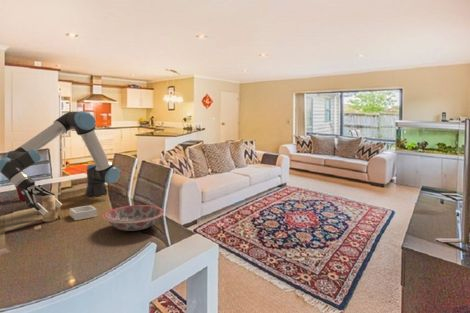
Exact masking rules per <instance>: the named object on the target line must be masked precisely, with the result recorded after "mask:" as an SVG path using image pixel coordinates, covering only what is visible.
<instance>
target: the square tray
mask: <svg viewBox="0 0 470 313" xmlns="http://www.w3.org/2000/svg"><path fill="white" fill-rule="evenodd" d="M69 216H70V217H71V219H73V220H74V221H79V220H84V219H90V218H94V217H95V218H96V217H98V208H96V207H94V206H93V205H90V204H89V205H84V206H76V207H71V208H69Z"/></svg>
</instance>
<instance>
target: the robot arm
mask: <svg viewBox="0 0 470 313" xmlns="http://www.w3.org/2000/svg"><path fill="white" fill-rule="evenodd" d="M71 130H75V132H76V134H77V136H80V137H81V139H82V141H83V142H84V144H85V147H86V148H87V151H88V152H89V154H90V156H91V159H92V160H93V162H94V163H93V164H87V166H86V180H87V182H86V189H85V192H84V196H85V195H86V196H85V197H88V196H97V197H102V195H104V196H106V195H105V194H107V193H108V189H107V186H106V184H115V183H116V182H118V180H119V178H120V176H121V175H120V174H121V172H120V169H119V168H118V167H115V166H114V164H113V161H110V160H109V159H108V156H107V154H106V153H105V151H104V149H103V146H102V143H101V142H100V140H99V138H98V136H97V133H96V131H95V130H96V118H95V116H94V115H93V114H92V113H91V112H88V111H84V110H80V111H73V110H72V111H68V112H66V113H64V114H63V115H61V116H59V117H58V118H56V119H55V120H53V123H52V124H51V125H49V126H48V127H47V128H45V129H44V130H42V131H41V132H39V133H38V134H36V135H35V136H32V138H31V139H29V140H28V141H26V142H25V143H23V144H22V145H21V146H19V147H17V148H16V149H14V150H10V151H8V152H6V153H5V155H4V158H2V159H0V174H2V176H4V177H5V178H6V179H7V180H8V181H9V182H10V183H12V185H15V186H17V188H18V189H19V190H20V191H22V192H21V193H20V194H21V195H22V196H23V197H24V199H25V201H24V202H25V203H26V205H27V207H28V208H31V209H33V208H34V209H35V210H37V211H38V212H39V213H40V214H41V215H42V216H43V215H45V214H46V213H47V212H48V211H47V210H46V209H44V208H43V207H42V204H40V202H37V198H36V196H41V197H43V196H47V195H54V196H55V207H56V208H58V209H60V207H62V205H63V203H61V202H60V201H59V200H58V199H57V198H56V193H55V192H52V191H51V190H49V189H48V188H45V187H44V186H42V185H41V184H38V185H36V184H35V183H36V182H35V181H34V180H33V179H32V178H31V177H30V176H29V175H28V174H27V173H26V172H25V171H24V170H26V169H27V168H29V167H31V166H33V165H35V164H37V163H38V162H40V160H41V159H42V158H41V155H40V153H39V152H38V151H39V150H41V149H42V148H44V147H45V146H46V145H48V144H49V143H51V142H52V141H53V140H54V139H56V138H57V137H59V136H60V135H61V134H65V133H67V132H69V131H71ZM15 186H14V187H15ZM107 195H108V194H107Z"/></svg>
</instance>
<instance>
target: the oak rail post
mask: <svg viewBox="0 0 470 313" xmlns="http://www.w3.org/2000/svg"><path fill="white" fill-rule="evenodd" d="M55 198H56V195H55V196H54V195H47V196H41V206H42V207H43V208H44V209H46V210H47V211H48V212H47V213H46V214H45V215H42V221H43V222H45V223H49V222H53V221H56V220H57V214H56V210H57V209H56V205H55Z"/></svg>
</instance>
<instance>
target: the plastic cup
mask: <svg viewBox="0 0 470 313" xmlns="http://www.w3.org/2000/svg"><path fill="white" fill-rule="evenodd" d="M13 185H14V184H13ZM14 187H15V188H16V191H17V192H16V193H17V195H18V198H19V201H20V200H22V201H21V202H26V201H25V199H24V197H23V196H22V195H21V194H20V193H21V192H22V191H20V190H19V189H18V188H17V186H15V185H14Z"/></svg>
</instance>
